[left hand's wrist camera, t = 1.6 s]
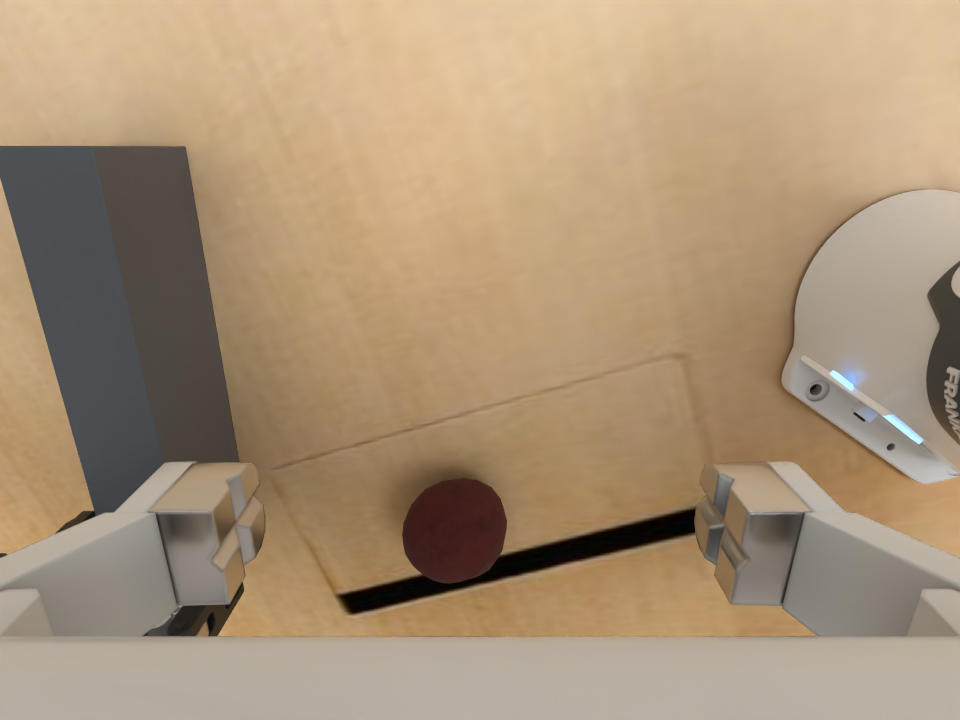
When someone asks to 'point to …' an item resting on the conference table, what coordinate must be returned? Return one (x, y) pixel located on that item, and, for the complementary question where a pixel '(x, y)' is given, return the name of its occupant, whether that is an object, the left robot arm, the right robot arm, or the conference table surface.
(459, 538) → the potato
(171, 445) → the bar
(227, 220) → the conference table surface
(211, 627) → the right robot arm
